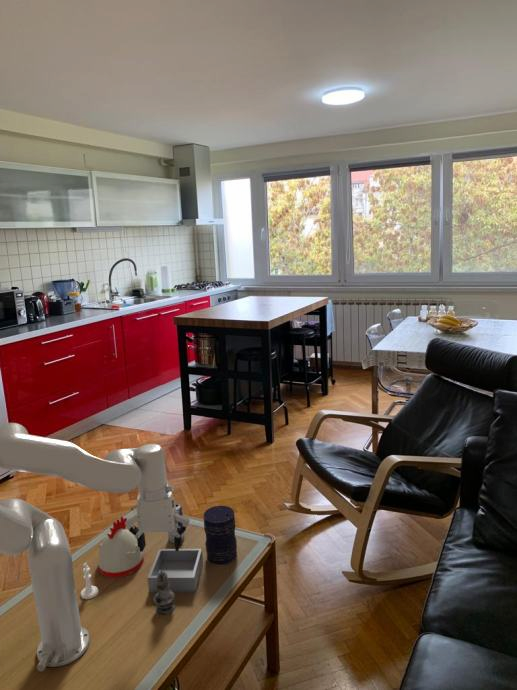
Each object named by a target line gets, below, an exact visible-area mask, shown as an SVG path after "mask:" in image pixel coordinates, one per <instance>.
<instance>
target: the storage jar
mask: <svg viewBox="0 0 517 690" xmlns="http://www.w3.org/2000/svg"><path fill="white" fill-rule="evenodd" d="M203 527H204V529H203V530H204V533H205V538H206V540H205V551H206V559H207V561H208V562H209V563H210V564H211V565H214V566H215V565H216V566H224V565H225V566H226V565H229V564H231V563H233V562H234V561H236V559H237V557H238V551H237V549H238V546H237V545H238V543H237V537H236V518H235V510H234V509H233V508H232V507H231V506H227V505H215V506H212V507H209V508H207V509H206V510H205V511H204V513H203Z"/></svg>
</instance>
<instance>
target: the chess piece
mask: <svg viewBox="0 0 517 690" xmlns="http://www.w3.org/2000/svg"><path fill="white" fill-rule="evenodd" d="M87 564H88V563H87V562H84V564H83V565H82V566H83V567H84V568H83V569H82V572H83V574H84V575H83V580H85V587H84V588H83V589H82V590H81V592H80V597H81V599H83V600H89V599H93V598H95V597H96V596H97V595H98V594H99V589H98V587H97V586H95V585H92V582H91V577H92V574H91V573H90V571H91V567H90V566H89V565H87Z"/></svg>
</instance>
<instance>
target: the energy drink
mask: <svg viewBox="0 0 517 690" xmlns="http://www.w3.org/2000/svg"><path fill="white" fill-rule="evenodd" d="M175 506H176V510H177V514H179V515H181V516H183V507H182V505H181V504H180V503H179V502H175ZM176 524H177V525H178V526H179V527H181V526H182V525H183V523H181V522H179V521H178V522H177V523H176ZM167 534H168V535H167V536H168V541H170V542H171V543H174V537H175V535H174V534H173V533H171V532H167ZM181 538H182V541H183V540H184V539H185V532H184V533H183V534H182V535H181Z"/></svg>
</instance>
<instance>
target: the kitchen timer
mask: <svg viewBox="0 0 517 690" xmlns="http://www.w3.org/2000/svg"><path fill="white" fill-rule="evenodd" d="M127 520H128V518H127V517H122V516H120V520H119V519H116V521H113V522H112V527H110V528H109V530H110V531H109V532H108V533H107V534H106V536H105V537H104V539H103V540H102V543H99V545H98V546H99V553H98V560H97V563H98V565H97V566H98V570H99V572H101V573H100V574H102V575H103V576H105V577H108V578H120V577H121V578H122V577H125V576H128V575H130V574H132V573H135V572H136V571H137V570H139V569H140V568H141V567H142V565H143V563H144V560H145V559H144V550H143V551H142V552H140V547H138V543H137V538H135V535H133V534H132V533H131V532H130V531H129V530H128V528H127V526H126V525H125V522H126V521H127ZM126 528H127V529H126Z"/></svg>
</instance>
